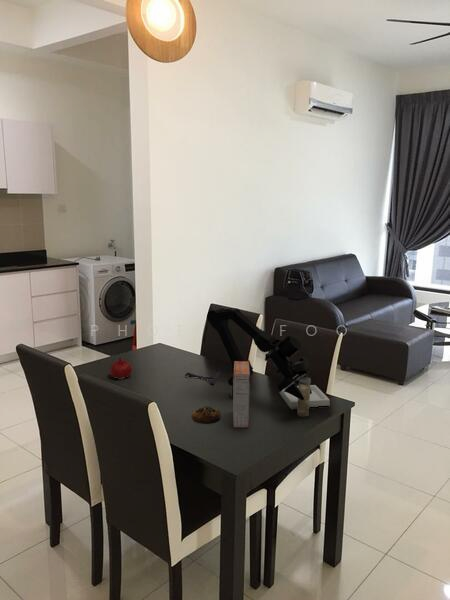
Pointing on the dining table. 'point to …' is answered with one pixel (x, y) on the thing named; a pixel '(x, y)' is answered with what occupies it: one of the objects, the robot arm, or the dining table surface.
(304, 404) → the handle post
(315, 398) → the tray
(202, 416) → the bread roll
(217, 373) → the dark grey t-shape
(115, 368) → the pomegranate
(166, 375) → the dining table surface
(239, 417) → the cracker box
